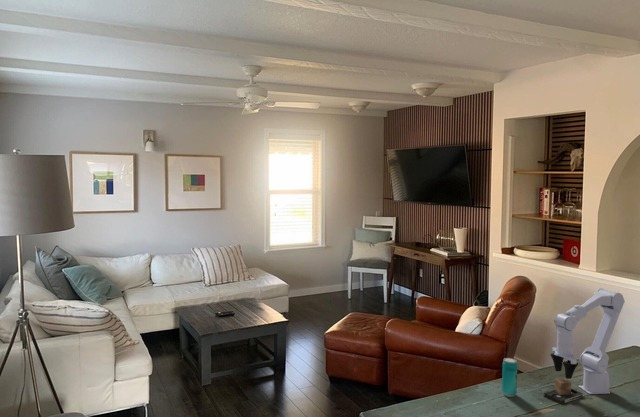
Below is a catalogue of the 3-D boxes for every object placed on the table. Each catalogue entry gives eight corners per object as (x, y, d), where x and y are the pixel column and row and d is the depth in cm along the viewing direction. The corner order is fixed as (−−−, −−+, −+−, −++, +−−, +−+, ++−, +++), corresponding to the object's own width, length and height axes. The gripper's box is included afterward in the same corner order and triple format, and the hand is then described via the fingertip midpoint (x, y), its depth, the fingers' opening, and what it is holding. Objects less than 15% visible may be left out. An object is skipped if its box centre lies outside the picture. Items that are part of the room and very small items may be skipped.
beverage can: (517, 398, 207) (518, 363, 206) (503, 396, 208) (504, 362, 207) (515, 392, 212) (516, 358, 211) (500, 391, 214) (501, 357, 213)
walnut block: (564, 389, 211) (565, 378, 211) (570, 394, 207) (571, 382, 207) (554, 390, 211) (554, 378, 211) (560, 394, 207) (560, 383, 206)
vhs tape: (561, 405, 201) (561, 400, 201) (544, 397, 208) (544, 393, 208) (582, 397, 208) (583, 393, 208) (565, 390, 215) (565, 386, 215)
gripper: (545, 337, 214) (545, 368, 215) (565, 349, 200) (564, 381, 201) (561, 337, 215) (560, 367, 216) (581, 348, 201) (580, 381, 202)
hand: (563, 374), depth 208 cm, fingers open, 7 cm apart
